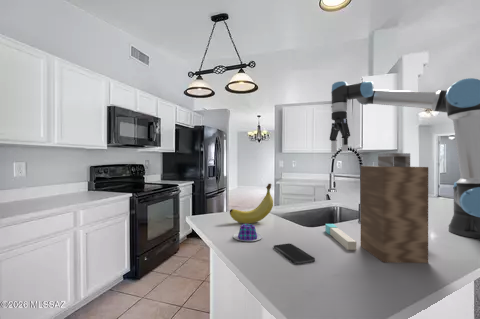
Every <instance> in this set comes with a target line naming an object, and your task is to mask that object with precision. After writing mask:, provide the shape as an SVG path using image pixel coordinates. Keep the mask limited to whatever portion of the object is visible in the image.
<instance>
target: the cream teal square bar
mask: <svg viewBox="0 0 480 319" xmlns="http://www.w3.org/2000/svg"><path fill="white" fill-rule="evenodd" d="M324 228H325V231H324V232H325V233H327V234H328V235H330V236H331V238H332V237H333V239H335V241H337V242H338V243H339V244H340V245H342V246H343V248H345V250H347V251H357V240H355V239H353V238H352V237H351V236H349V235H348V234H347V233H345V232H344V231H343V230H341V229H340V228H339V227H338V226H337V225H336V224H334V223H325V227H324Z"/></svg>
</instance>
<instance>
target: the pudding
mask: <svg viewBox="0 0 480 319" xmlns="http://www.w3.org/2000/svg"><path fill="white" fill-rule="evenodd" d="M232 237H233V238H234V239H235V240H238V241H242V242H256V241H259V240H261V239H262V238H263V235H262V234H260V233H258V232H257V230H256V225H254V224H253V223H248V224H246V223H242V224H241V225H240V226H239V232H237V233H234V234H233V236H232Z"/></svg>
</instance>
